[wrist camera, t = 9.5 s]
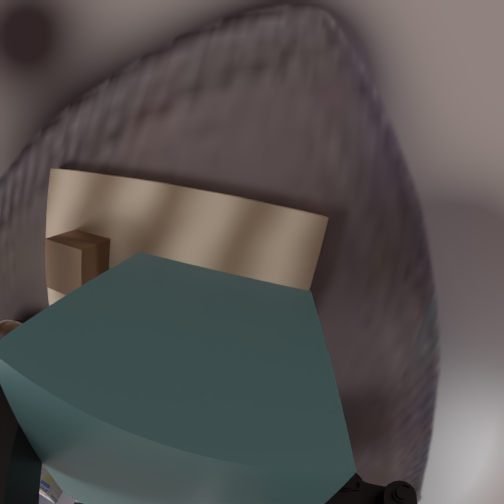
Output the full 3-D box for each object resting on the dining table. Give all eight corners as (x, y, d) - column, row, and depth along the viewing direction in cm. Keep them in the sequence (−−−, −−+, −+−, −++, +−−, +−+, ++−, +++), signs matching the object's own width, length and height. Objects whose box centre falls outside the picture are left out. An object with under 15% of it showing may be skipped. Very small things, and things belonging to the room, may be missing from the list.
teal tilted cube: (310, 291, 12) (356, 472, 4) (269, 413, 14) (258, 554, 6) (139, 251, 12) (-13, 348, 4) (136, 379, 15) (64, 493, 6)
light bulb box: (39, 452, 37) (18, 479, 26) (31, 438, 35) (8, 466, 25) (74, 475, 37) (56, 505, 26) (68, 462, 35) (47, 495, 24)
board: (325, 216, 20) (328, 218, 19) (280, 371, 24) (280, 379, 22) (58, 168, 21) (50, 168, 20) (56, 303, 24) (49, 307, 23)
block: (110, 238, 21) (81, 249, 17) (108, 284, 22) (82, 301, 18) (75, 229, 21) (45, 238, 17) (74, 272, 22) (46, 286, 18)
